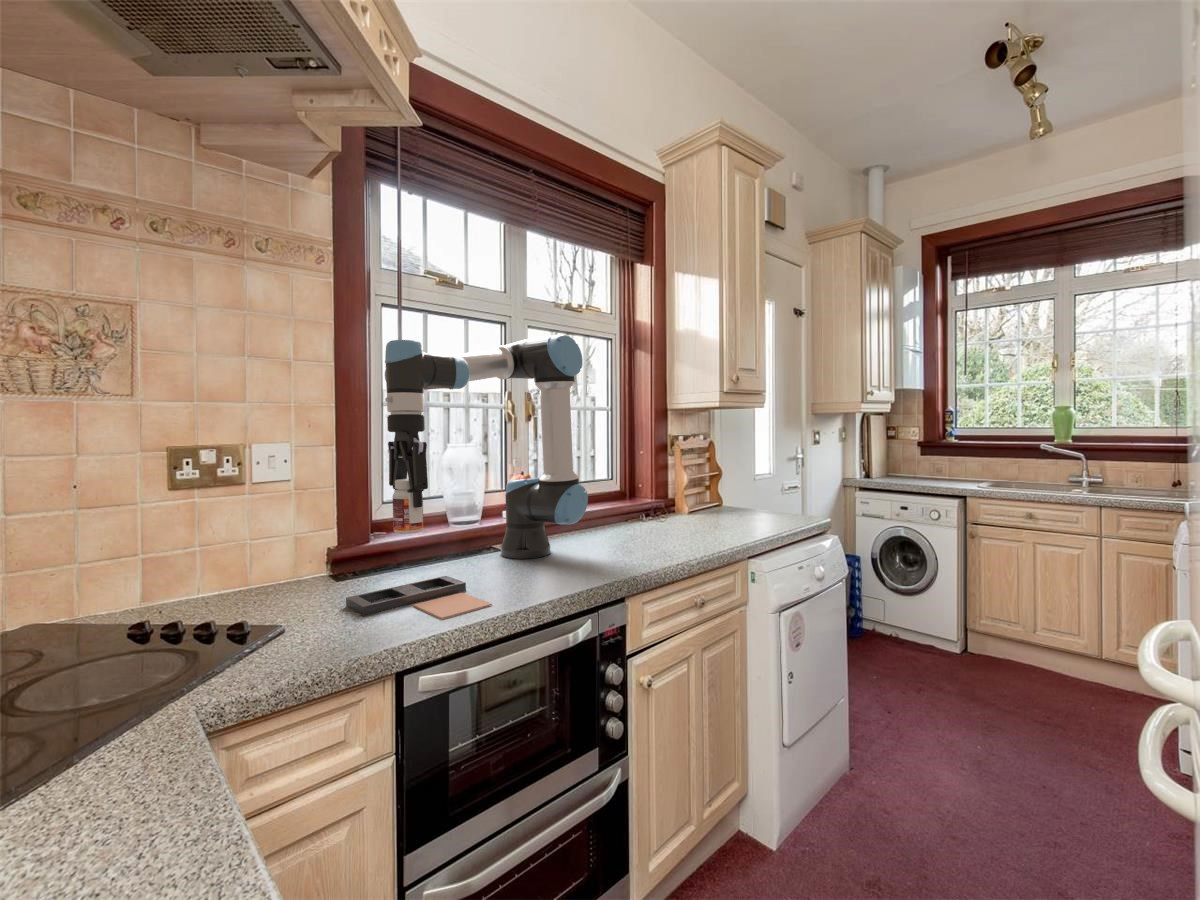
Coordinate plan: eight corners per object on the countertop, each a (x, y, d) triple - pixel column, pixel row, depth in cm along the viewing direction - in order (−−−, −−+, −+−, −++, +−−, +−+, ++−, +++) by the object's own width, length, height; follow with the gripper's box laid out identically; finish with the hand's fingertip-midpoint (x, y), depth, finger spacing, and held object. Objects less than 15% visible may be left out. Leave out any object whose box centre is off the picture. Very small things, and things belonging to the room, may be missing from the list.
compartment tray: (446, 583, 134) (445, 575, 134) (465, 590, 128) (465, 582, 128) (346, 606, 117) (345, 597, 117) (363, 616, 111) (363, 606, 110)
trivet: (461, 594, 125) (461, 592, 125) (492, 605, 117) (492, 603, 117) (413, 606, 117) (413, 604, 117) (441, 619, 108) (441, 617, 108)
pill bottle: (406, 535, 113) (405, 481, 112) (387, 532, 116) (385, 480, 116) (429, 530, 118) (428, 478, 118) (410, 528, 121) (409, 477, 121)
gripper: (370, 414, 120) (373, 517, 121) (409, 412, 107) (412, 528, 108) (403, 414, 126) (405, 513, 127) (443, 412, 112) (446, 523, 113)
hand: (408, 520), depth 117 cm, fingers closed on pill bottle, 6 cm apart
